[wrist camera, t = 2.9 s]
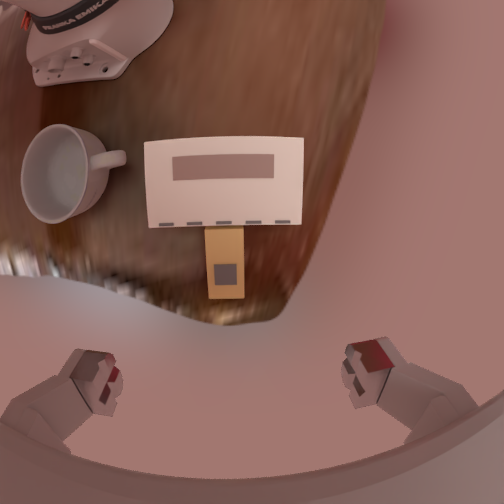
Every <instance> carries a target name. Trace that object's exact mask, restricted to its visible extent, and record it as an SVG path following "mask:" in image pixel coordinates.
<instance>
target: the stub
mask: <svg viewBox="0 0 504 504" xmlns="http://www.w3.org/2000/svg"><path fill="white" fill-rule="evenodd" d="M205 248H206V265H207V279H208V293H209V299H235V298H244V228H243V225H221V226H206V227H205Z"/></svg>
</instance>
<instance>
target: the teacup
mask: <svg viewBox="0 0 504 504" xmlns="http://www.w3.org/2000/svg"><path fill="white" fill-rule="evenodd" d="M124 164H126V153H125V151H123V150H116V151H109V152H106V149H105V147H104V145H103V144H102V142H101V141H100V140H99V139H98V138H97V137H96V136H95V135H93V134H92V133H90V132H87V131H85V130H82V129H78V128H74V127H71V126H68V125H66V124H54V125H51V126H48V127H46V128H45V129H43V130H42V131H40V132H39V133H38V134H37V135H36V136H35V138H34V139H33V140H32V142H31V143H30V145H29V147H28V149H27V151H26V153H25V156H24V160H23V164H22V169H21V188H22V193H23V197H24V200H25V203H26V205H27V207H28V208H29V210H30V211H31V213H32V214H33V215H34V216H35V217H36V218H37V219H39V220H41V221H43V222H45V223H49V224H55V223H60V222H62V221H65V220H66V219H68V218H70V217H73V216H76V215H78V214H80V213H82V212H84V211H86V210H88V209H89V208H91V207H92V206H93V205H94V204H95V203H96V202H97V201H98V200H99V198H100V197H101V195H102V194H103V192H104V190H105V188H106V185H107V182H108V177H109V169H111V168H114V167H118V166H122V165H124Z"/></svg>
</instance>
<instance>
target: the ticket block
mask: <svg viewBox="0 0 504 504" xmlns="http://www.w3.org/2000/svg"><path fill="white" fill-rule="evenodd" d="M303 154H304V138H294V137H269V136H223V137H198V138H183V139H170V140H160V141H150V142H144V162H145V185H146V201H147V213H148V225H149V228H159V227H186V226H221V225H296V224H301V219H302V194H303Z"/></svg>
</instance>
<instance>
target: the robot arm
mask: <svg viewBox="0 0 504 504" xmlns="http://www.w3.org/2000/svg"><path fill="white" fill-rule="evenodd" d="M1 1H5V2H8V3H11V4H14V5H16V6H18V7H21V8H23V9H25V11H26V13H25V15H24V18H23V21H22V25H21V29H22V28H23V26H24V23H25V31H26V30H27V29H28V26H29V23H30V20H31V17H32V20H33V25H32V27H31V30H30V34H29V37H28V42H27V49H26V54H27V60H28V62H29V64H30V65H31V66H33V67H32V70H33V78H34V81H35V84H36V85H37V86H39V87H44V86H50V85H57V84H64V83H72V82H82V81H93V80H110V79H116V78H118V77H119V76H120V75H121V74H122V73H123V72H124V71H125V69H126V68H127V67H128V65H129V64H130V62H131V61H132V60H133V59H134V58H135V57H136V56H137V55H138V54H140V53H141V52H143V51H144V50H145V49H147V48H148V47H149V46H150V45H152V44H153V43H154V42H155V41H156V40H157V39H158V38H159V37H160V35H161V34H162V33H163V32H164V30H165V29H166V27H167V26H168V24H169V22H170V20H171V17H172V14H173V1H172V0H1ZM25 21H26V22H25ZM107 68H108V71H107V72H105V70H106V69H107ZM38 71H39V72H38ZM345 354H346V356H347V358H346V359H345V360H344V362H343V364H342V369H341V375H342V380H343V383H344V385H345V387H347V388H348V389H350V390H351V391H350V394H349V397H350V399H351V401H352V403H353V406H354V408H355V409H357V408H361V407H366V406H370V405H374V404H377V406H379V407H380V408H382V409H383V410H384V411H385V412H387V413H388V414H390V415H391V416H393V417H394V418H395V419H397V420H398V421H400V422H401V423H403V424H404V425H405V426H407V427H408V428H410V429H411V430H412V431H411V432H410V434H409V435H408V437H407V438H406V439H405V441H404V444H405V445H402V446H400V447H397V448H394V449H392V450H389V451H386V452H383V453H380V454H377V455H374V456H371V457H368V458H364V459H361V460H357V461H354V462H351V463H346V464H342V465H338V466H334V467H329V468H325V469H320V470H315V471H309V472H303V473H298V474H290V475H282V476H274V477H262V478H247V479H200V478H184V477H173V476H164V475H156V474H150V473H143V472H138V471H132V470H127V469H122V468H118V467H113V466H109V465H105V464H101V463H98V462H94V461H90V460H87V459H84V458H81V457H78V456H74V455H72V454H71V451H70V449H69V448H68V447H67V446H66V445H65V444H64V443H63V441H64V440H65V439H66V438H67V437H68V436H69V435H71V433H73V432H74V431H75V430H76V429H77V428H78V427H79V426H81V425H82V423H84V422H85V421H86V420H87V419H88V418H89V417H91V416H92V413H94V414H99V415H106V416H111V417H112V416H113V413H114V411H115V408H116V405H117V402H116V399H115V398H116V397H118V396H119V395H120V394H121V391H122V388H123V379H122V375H121V372H120V370H119V369H118V368H116V367H115V366H114V365H115V363H116V360H115V358H114V356H113V354H111V353H106V352H99V351H92V350H83V349H75V350H74V351H73V353H72V354H71V356H70V357H69V359H68V360H67V362H66V363H65V365H64V366H63V368H62V369H61V371H60V373H59V374H58V376H56V375H54V376H52V377H50V378H49V379H47V380H45V381H43V382H42V383H40V384H38V385H36V386H35V387H33V388H31V389H29V390H28V391H26V392H24V393H22V394H20V395H19V396H17V397H15V398H13V399H12V400H11V402H10V403H9V405H8V406H7V408H6V410H5V411H4V413H3V415H2V416H1V418H0V504H504V390H503V391H501V392H500V393H499V394H497V395H496V396H494V397H493V398H492V399H490V400H488V401H487V402H485V403H484V404H482V405H481V406H478V405H477V404H476V402H475V401H474V400H473V399H472V397H471V396H470V395H469V393H468V392H467V391H466V390H465V388H464V387H463V386H462V385H461V384H459V383H456V382H454V381H452V380H449V379H447V378H445V377H443V376H440V375H438V374H435V373H433V372H431V371H429V370H427V369H424V368H422V367H420V366H417V365H415V364H413V363H407V362H406V360H405V359H404V358H403V357H402V355H401V354H400V352H399V351H398V350H397V348H396V347H395V346H394V345H393V343H392V342H391V341H390V339H389V338H388V337H381V338H377V339H373V340H368V341H363V342H357V343H352V344H348V345H347V347H346V350H345Z"/></svg>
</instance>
